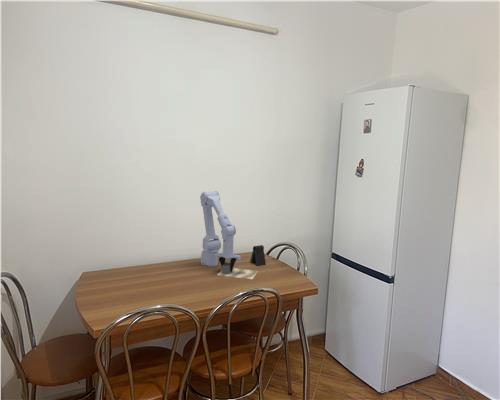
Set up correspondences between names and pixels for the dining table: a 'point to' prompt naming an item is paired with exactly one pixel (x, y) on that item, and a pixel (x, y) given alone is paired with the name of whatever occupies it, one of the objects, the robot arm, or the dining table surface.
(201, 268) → the dining table surface
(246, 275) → the board
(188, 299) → the dining table surface
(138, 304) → the dining table surface
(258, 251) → the door stopper
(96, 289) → the dining table surface
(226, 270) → the block
